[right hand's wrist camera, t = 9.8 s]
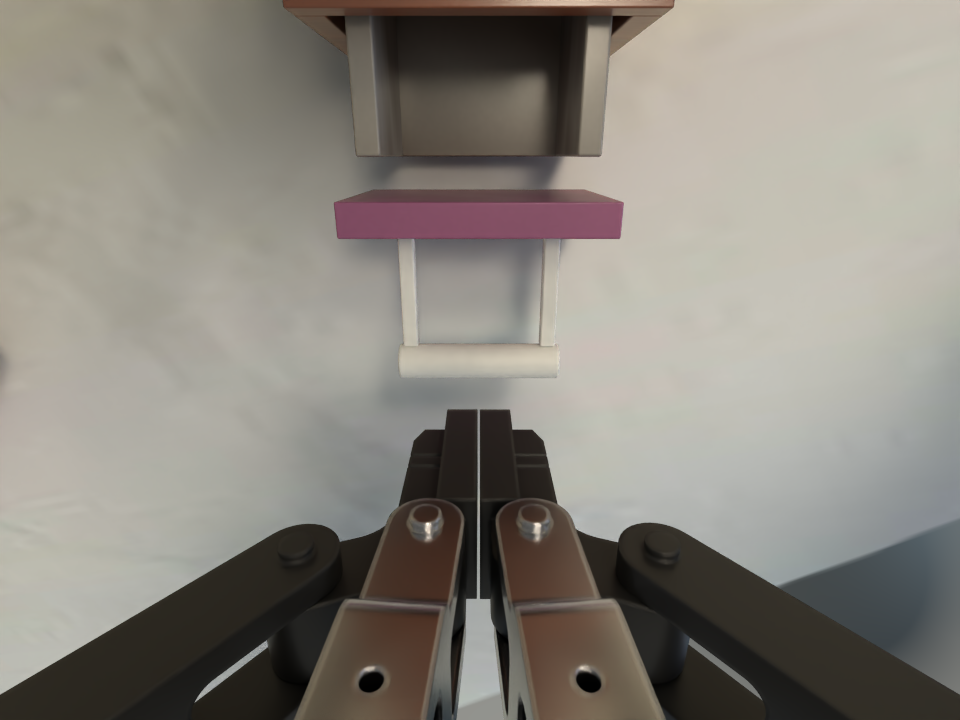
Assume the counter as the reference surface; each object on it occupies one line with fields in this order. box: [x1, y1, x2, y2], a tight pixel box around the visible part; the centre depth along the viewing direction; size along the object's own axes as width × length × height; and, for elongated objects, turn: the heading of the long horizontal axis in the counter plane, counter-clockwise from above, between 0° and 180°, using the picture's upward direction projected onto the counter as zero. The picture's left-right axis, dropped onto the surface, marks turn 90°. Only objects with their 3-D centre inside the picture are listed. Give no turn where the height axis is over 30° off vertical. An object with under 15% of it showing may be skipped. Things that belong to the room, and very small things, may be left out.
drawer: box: [334, 16, 624, 378], centre depth 20 cm, size 18×10×7 cm, turn 0°
